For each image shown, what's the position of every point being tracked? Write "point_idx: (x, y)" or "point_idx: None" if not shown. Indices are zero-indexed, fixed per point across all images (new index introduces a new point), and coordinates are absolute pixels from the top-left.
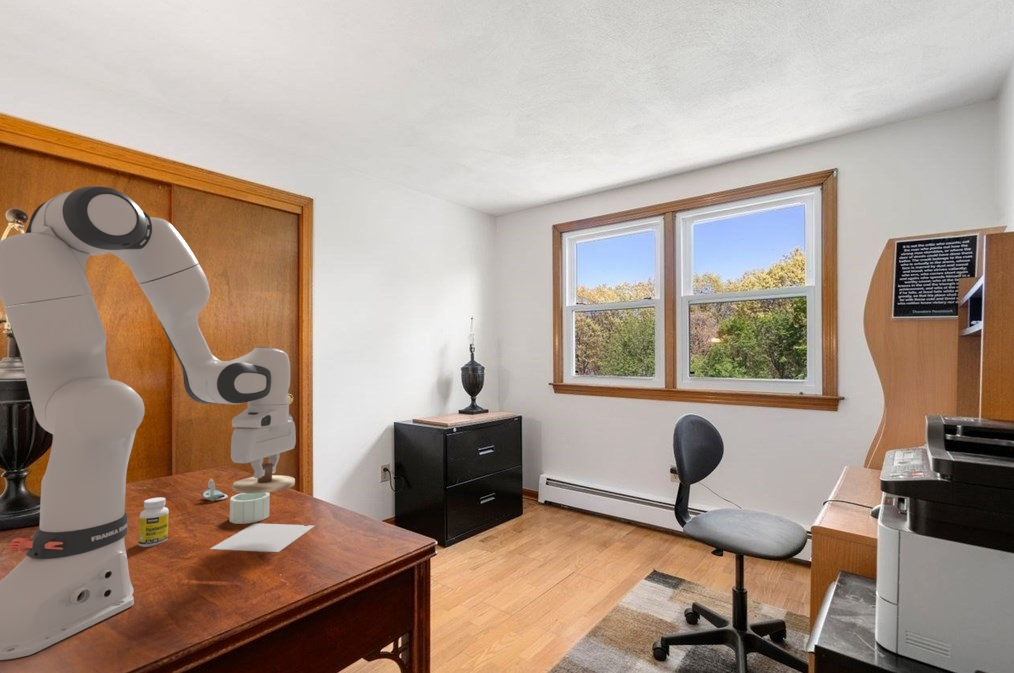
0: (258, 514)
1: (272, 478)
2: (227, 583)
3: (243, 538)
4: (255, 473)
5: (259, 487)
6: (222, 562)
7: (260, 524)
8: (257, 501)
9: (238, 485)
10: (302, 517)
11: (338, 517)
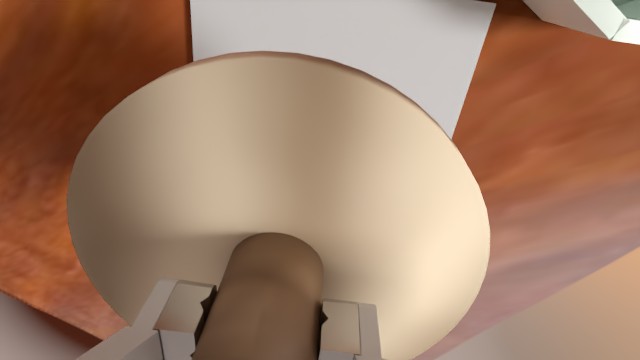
0: (545, 8)
1: (376, 280)
2: (21, 157)
3: (301, 50)
4: (146, 311)
5: (122, 293)
6: (120, 74)
7: (469, 42)
8: (577, 11)
9: (125, 152)
10: (548, 169)
11: (507, 276)
